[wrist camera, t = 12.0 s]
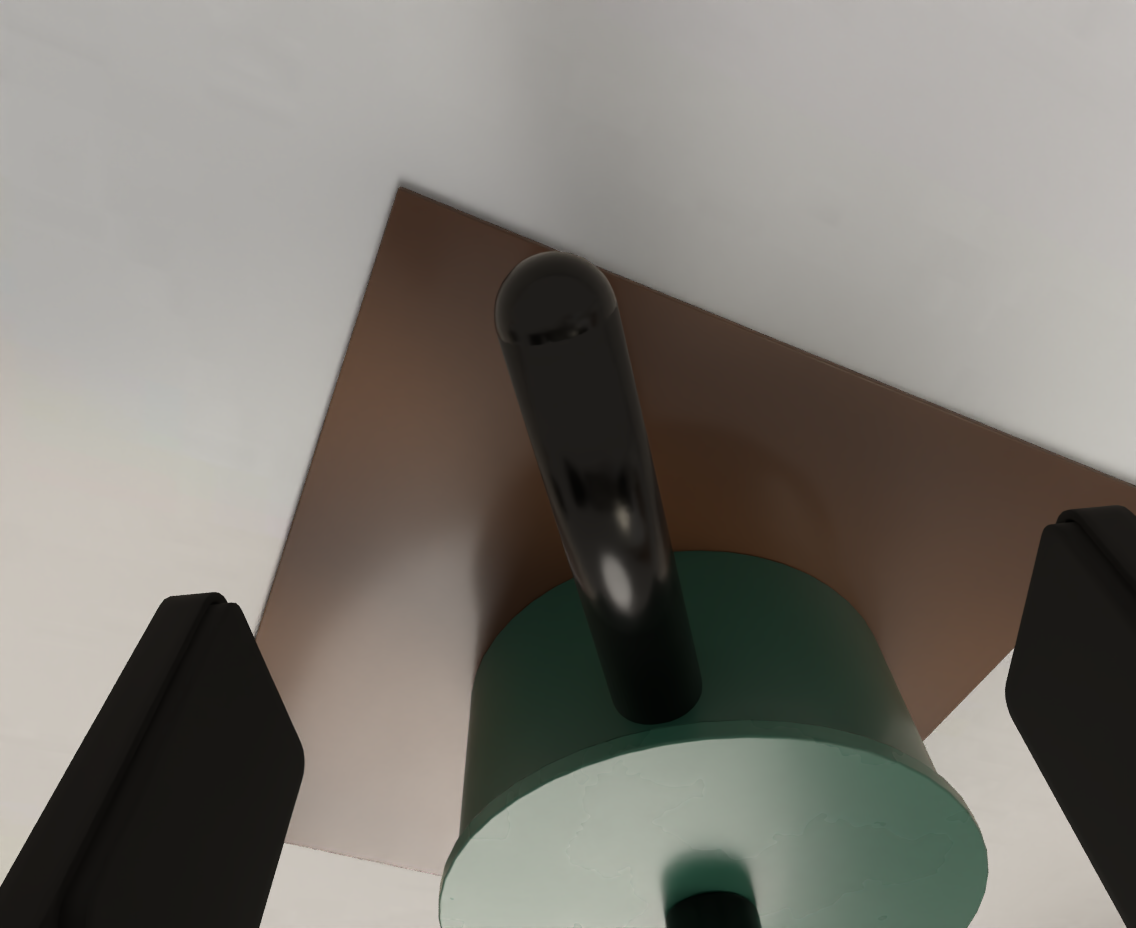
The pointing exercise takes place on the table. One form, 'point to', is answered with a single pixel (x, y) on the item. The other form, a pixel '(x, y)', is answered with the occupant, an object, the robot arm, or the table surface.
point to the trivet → (533, 544)
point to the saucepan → (680, 700)
